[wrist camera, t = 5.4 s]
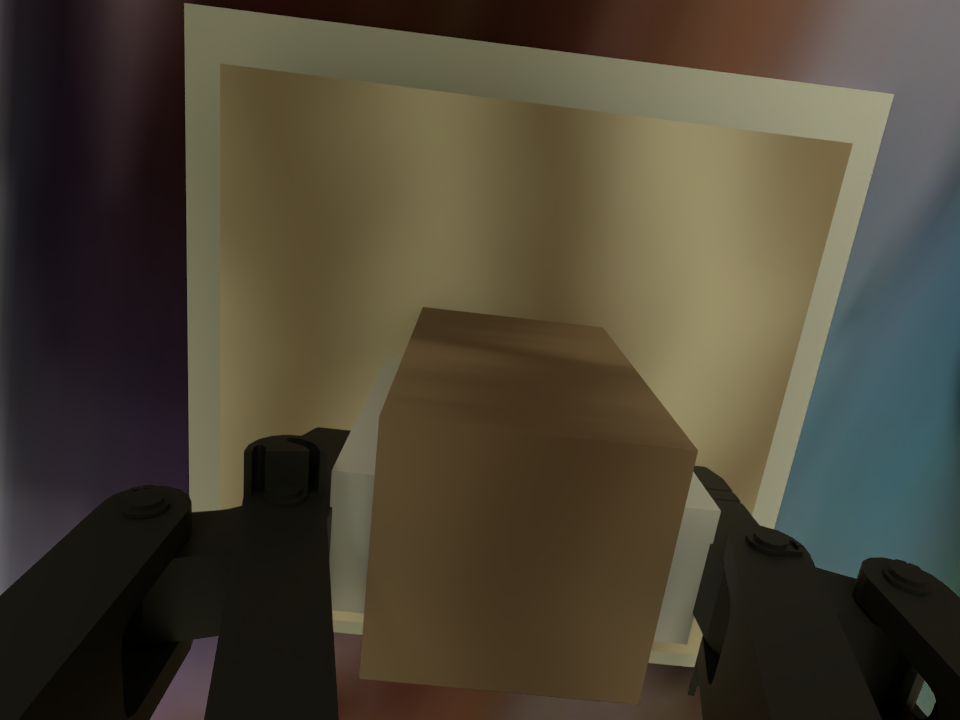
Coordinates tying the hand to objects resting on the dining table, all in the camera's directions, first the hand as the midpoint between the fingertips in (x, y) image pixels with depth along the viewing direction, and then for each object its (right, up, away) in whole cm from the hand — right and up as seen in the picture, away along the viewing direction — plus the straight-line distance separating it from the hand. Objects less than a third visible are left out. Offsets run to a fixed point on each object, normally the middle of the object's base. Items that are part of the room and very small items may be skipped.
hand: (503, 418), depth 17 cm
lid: (0, +1, +2) cm, 2 cm away
